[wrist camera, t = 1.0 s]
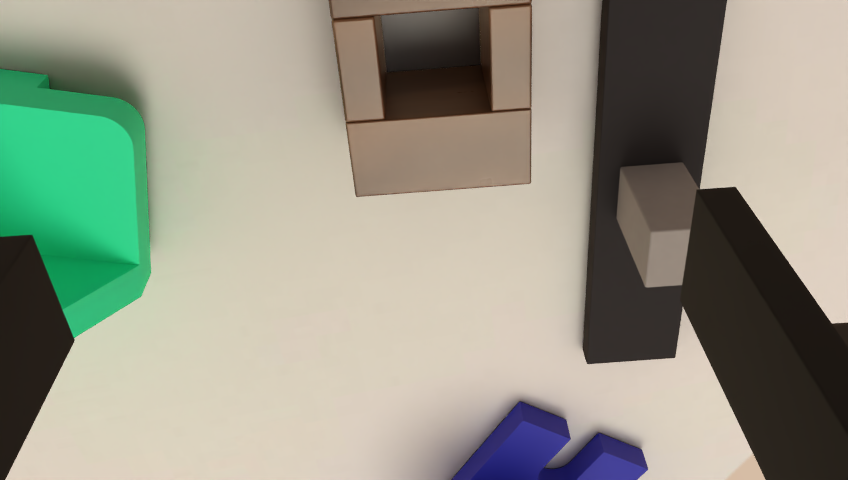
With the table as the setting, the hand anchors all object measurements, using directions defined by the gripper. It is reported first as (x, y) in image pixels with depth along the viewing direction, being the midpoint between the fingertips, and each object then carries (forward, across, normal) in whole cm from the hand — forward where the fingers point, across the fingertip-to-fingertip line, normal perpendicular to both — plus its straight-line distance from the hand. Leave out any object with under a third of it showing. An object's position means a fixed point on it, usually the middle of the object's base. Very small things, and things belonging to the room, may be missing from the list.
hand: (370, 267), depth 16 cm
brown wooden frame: (+14, +2, 0) cm, 14 cm away
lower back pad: (+14, +10, -7) cm, 19 cm away
